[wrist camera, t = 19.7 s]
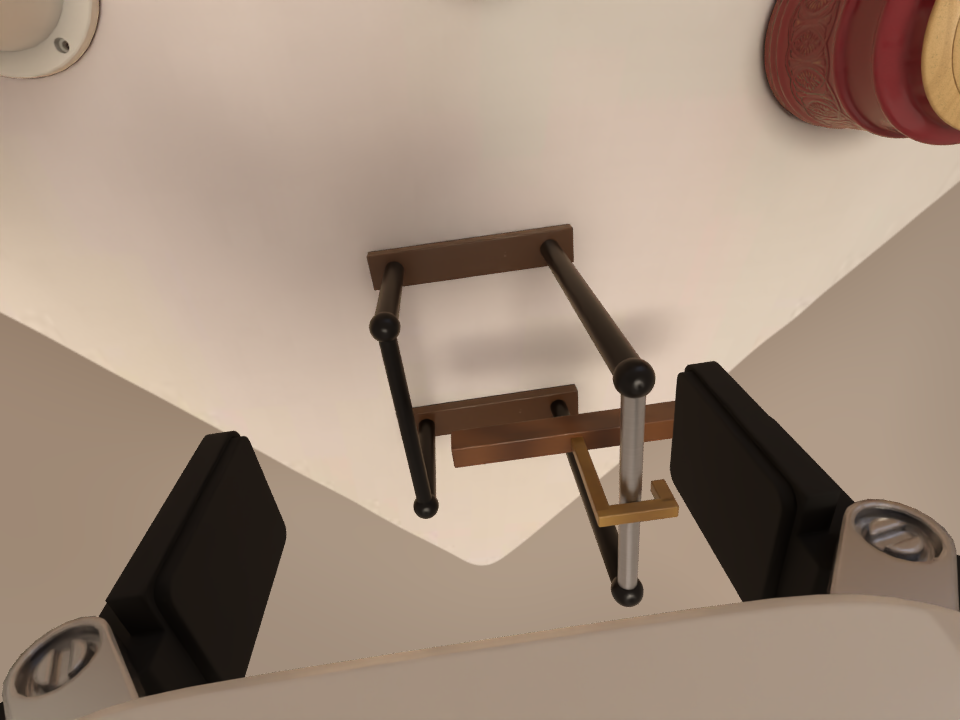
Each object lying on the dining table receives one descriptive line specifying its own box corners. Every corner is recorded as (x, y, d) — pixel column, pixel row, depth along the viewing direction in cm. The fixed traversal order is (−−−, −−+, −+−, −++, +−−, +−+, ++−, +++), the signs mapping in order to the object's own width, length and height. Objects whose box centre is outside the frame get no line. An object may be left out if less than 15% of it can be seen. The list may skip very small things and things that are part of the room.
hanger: (454, 449, 37) (457, 552, 29) (450, 430, 36) (453, 531, 28) (739, 410, 37) (818, 503, 29) (741, 391, 36) (824, 481, 28)
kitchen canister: (890, -138, 34) (1261, -299, 19) (964, 25, 39) (1304, 1, 24) (725, 33, 38) (921, 13, 23) (811, 161, 43) (1020, 214, 28)
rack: (409, 433, 53) (397, 654, 33) (367, 252, 44) (316, 408, 24) (575, 408, 54) (662, 613, 34) (569, 223, 44) (684, 355, 24)
